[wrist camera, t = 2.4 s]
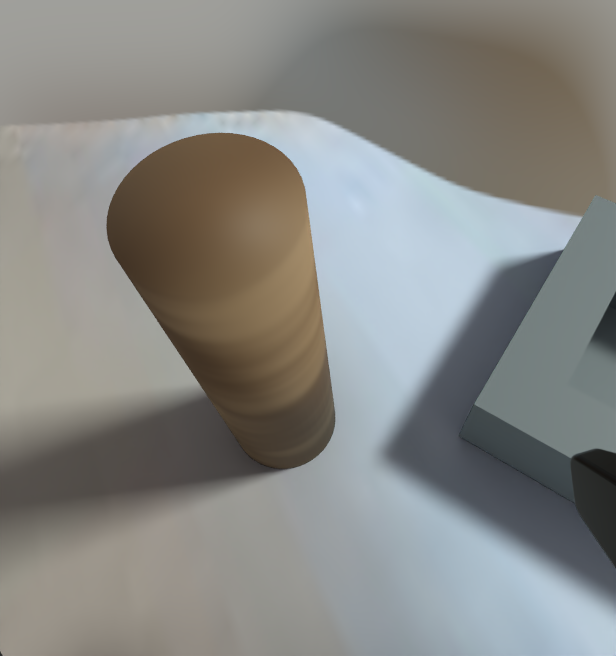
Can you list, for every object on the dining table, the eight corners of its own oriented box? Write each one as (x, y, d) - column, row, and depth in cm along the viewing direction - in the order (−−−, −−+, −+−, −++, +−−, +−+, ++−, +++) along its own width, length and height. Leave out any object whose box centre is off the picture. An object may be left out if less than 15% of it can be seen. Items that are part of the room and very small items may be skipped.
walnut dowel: (354, 403, 23) (345, 179, 12) (297, 489, 22) (222, 331, 10) (273, 354, 24) (191, 108, 13) (214, 432, 23) (65, 236, 12)
